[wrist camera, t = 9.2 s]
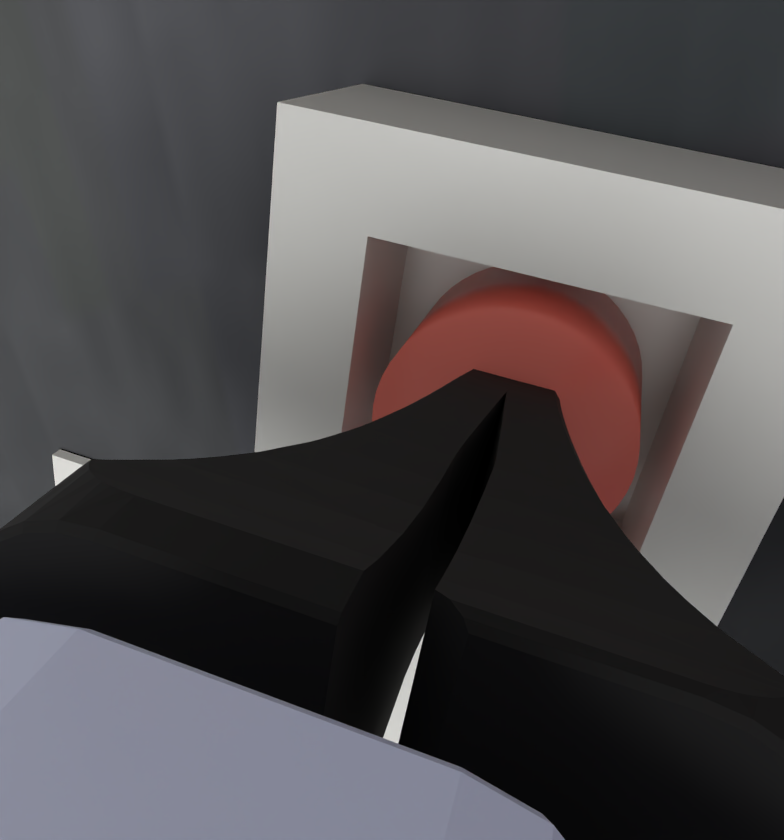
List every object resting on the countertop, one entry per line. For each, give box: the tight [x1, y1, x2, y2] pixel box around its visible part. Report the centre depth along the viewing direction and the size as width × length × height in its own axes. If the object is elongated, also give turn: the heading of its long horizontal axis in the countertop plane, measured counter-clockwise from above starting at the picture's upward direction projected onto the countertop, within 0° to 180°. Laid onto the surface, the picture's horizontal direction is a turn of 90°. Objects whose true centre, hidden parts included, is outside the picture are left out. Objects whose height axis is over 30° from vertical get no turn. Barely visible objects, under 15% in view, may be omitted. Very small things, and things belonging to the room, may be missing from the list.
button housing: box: [255, 84, 784, 626], centre depth 13 cm, size 8×8×4 cm
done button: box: [372, 267, 642, 514], centre depth 12 cm, size 4×4×2 cm
